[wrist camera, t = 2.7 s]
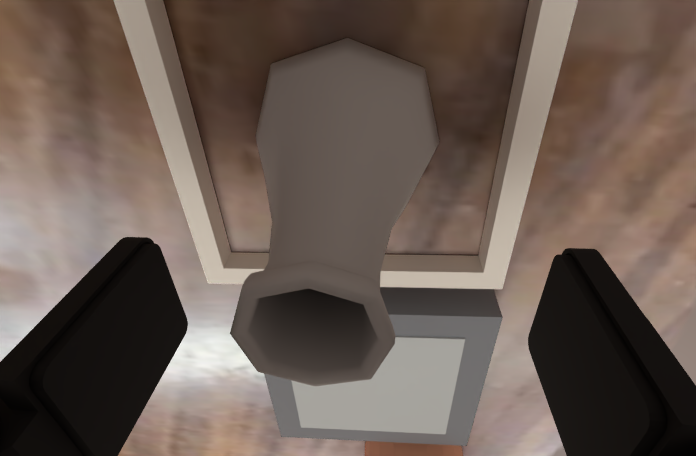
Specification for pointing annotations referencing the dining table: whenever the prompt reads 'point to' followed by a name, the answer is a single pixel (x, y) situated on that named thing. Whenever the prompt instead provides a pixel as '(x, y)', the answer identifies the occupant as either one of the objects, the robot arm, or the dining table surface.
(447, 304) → the slate pad
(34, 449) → the robot arm
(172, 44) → the tray frame
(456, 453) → the salt shaker
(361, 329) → the flask
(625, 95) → the dining table surface
